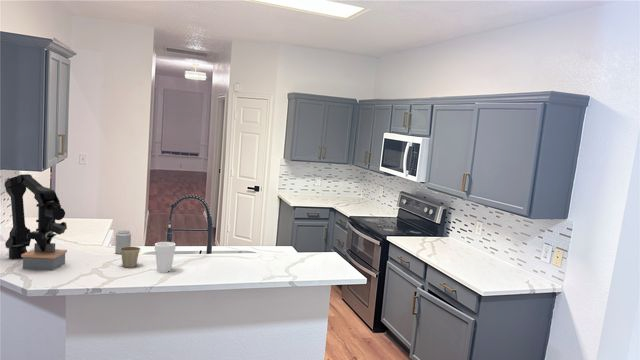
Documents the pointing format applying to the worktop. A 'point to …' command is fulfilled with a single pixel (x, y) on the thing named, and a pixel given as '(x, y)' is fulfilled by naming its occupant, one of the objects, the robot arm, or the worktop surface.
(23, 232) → the robot arm
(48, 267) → the storage box
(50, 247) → the lid
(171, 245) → the foam cup
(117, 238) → the can
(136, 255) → the flower pot
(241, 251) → the worktop surface
